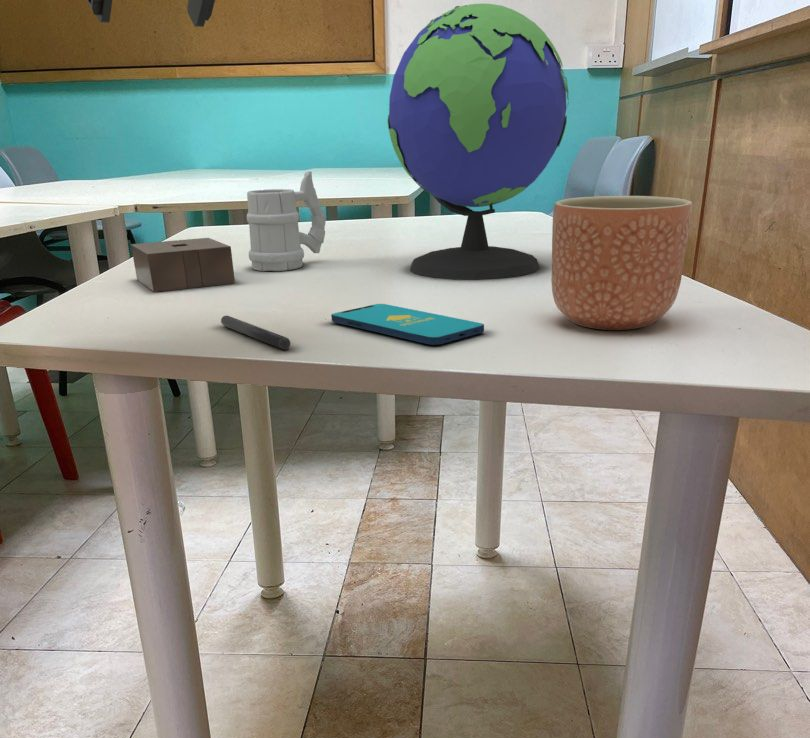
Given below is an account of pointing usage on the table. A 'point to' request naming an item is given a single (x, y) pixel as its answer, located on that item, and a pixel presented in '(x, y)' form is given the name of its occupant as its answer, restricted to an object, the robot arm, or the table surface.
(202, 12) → the robot arm
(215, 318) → the table surface
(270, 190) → the mug
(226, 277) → the pen stand
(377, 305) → the smartphone
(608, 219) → the planter
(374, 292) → the table surface
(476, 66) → the globe
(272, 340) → the stylus
